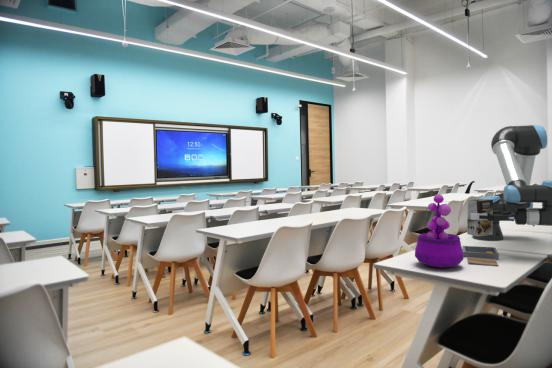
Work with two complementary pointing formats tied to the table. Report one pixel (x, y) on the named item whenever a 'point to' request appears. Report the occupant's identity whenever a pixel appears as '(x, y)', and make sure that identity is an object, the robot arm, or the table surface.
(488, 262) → the walnut pad
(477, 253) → the grey square tray
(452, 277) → the table surface
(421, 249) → the decorative plant
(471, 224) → the coffee box
